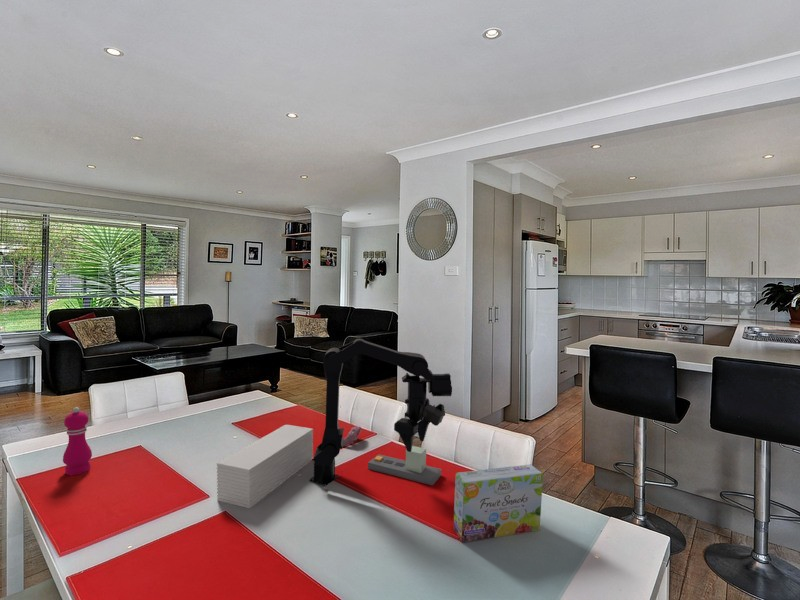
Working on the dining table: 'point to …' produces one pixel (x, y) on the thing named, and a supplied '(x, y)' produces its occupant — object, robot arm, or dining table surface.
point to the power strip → (403, 469)
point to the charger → (416, 459)
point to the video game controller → (352, 436)
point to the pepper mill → (76, 443)
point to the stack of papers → (263, 465)
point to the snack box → (497, 502)
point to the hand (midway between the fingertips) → (415, 446)
